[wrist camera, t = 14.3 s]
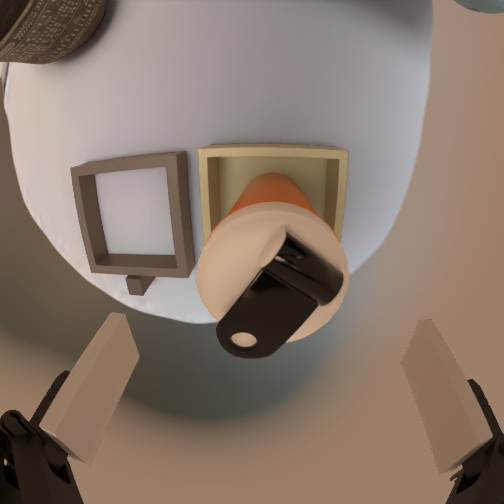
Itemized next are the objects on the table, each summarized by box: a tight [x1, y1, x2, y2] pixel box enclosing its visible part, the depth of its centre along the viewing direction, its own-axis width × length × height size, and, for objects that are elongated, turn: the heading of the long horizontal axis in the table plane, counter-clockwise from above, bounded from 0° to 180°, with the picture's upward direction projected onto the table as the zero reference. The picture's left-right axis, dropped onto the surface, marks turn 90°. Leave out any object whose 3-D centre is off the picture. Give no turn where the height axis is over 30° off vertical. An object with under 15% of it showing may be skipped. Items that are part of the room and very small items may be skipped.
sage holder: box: [198, 144, 348, 247], centre depth 29 cm, size 14×14×6 cm
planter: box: [0, 0, 106, 64], centre depth 15 cm, size 14×14×15 cm
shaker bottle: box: [197, 173, 349, 359], centre depth 23 cm, size 9×9×20 cm
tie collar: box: [70, 151, 195, 296], centre depth 32 cm, size 17×14×4 cm
